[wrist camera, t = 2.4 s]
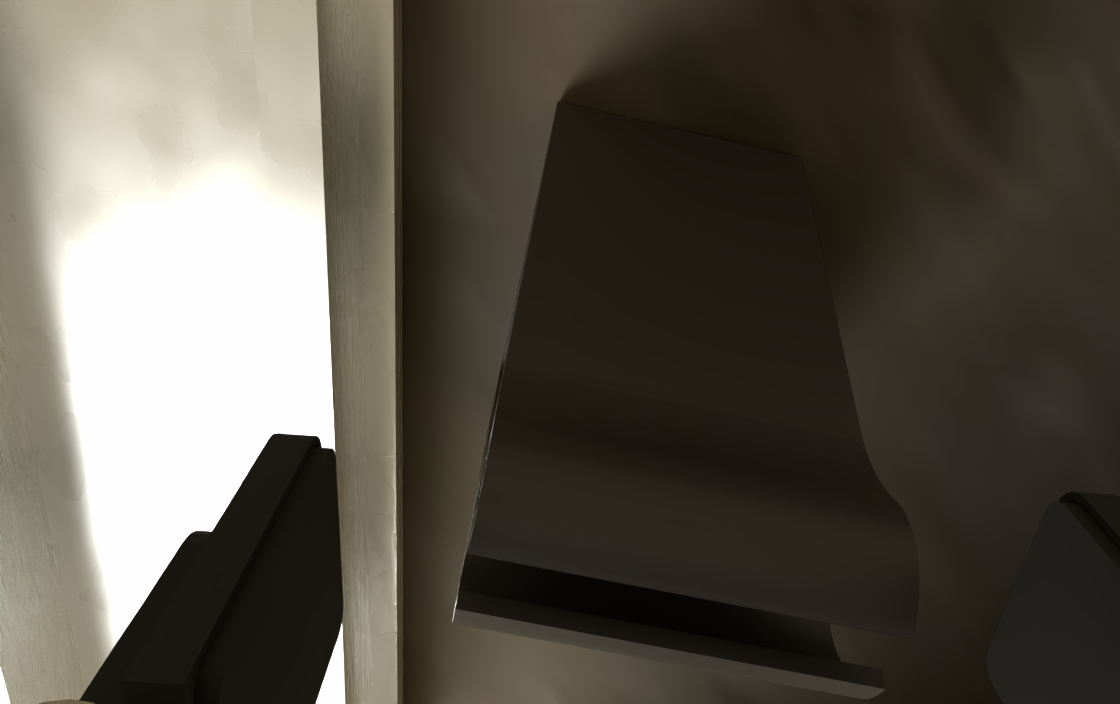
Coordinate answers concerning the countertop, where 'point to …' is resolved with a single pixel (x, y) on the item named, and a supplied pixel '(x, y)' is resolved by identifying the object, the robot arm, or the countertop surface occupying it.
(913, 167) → the countertop surface
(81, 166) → the aluminium track
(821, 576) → the phone stand
